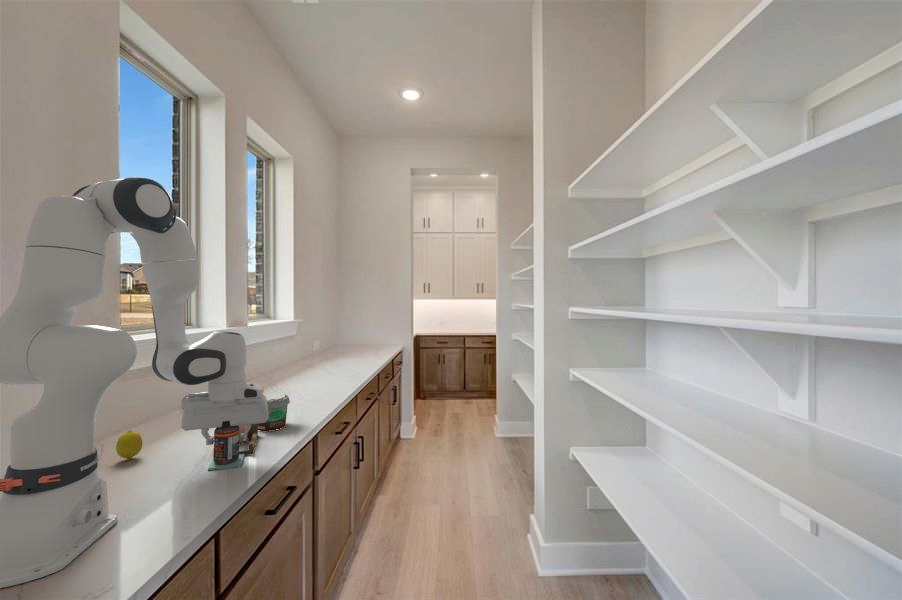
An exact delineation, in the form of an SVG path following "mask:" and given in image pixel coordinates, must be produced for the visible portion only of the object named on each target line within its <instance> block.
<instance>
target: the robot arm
mask: <svg viewBox="0 0 902 600" xmlns="http://www.w3.org/2000/svg"><path fill="white" fill-rule="evenodd" d="M114 233H129V234H130V236H131V237H132V238H133V239H134V240H135V243H136V245H137V246H138V247H139V254H140V261H141V262H140V263H141V266H142V271H143V275H144V279H145V283H146V287H147V290H148V293H149V298H150V302H151V310H152V317H153V322H154V323H153V325H154V331H155V338H156V340H155V341H156V342H155V343H156V345H155V350H154V353H153V356H152V360H151V368H152V370H153V372H154V374H155V375H156V376H157V377H158V378H160V379H161V380H164V381H167V382H174V383H177V384H181V385H187V386H195V385H200V384H204V383H207V382H208V383H207V385H208V386H207V387H208V388H207V391H205V392H204V391H203V392H197V393H195V392H194V393H193V392H192V393H189V394H188V395H185V396H183V398H182V399H181V404H180V405H181V409H182V411H183V412H182V419H181V429H183V430H184V431H186V432H187V431H196V430H200V431H201V432H200V433H201V435H202V437H204V439H205V441H206V442H205V443H206V444H205V445H206V446H210V445H213V446H214V435H212V436H211V435H210V434H209V430H210V429H216V428H218V427H222V421H230V424H231V425H230V426H238V425H245V429H246V428H247V429H246V430H245V432H244V433H241V434H240V441H246V439H247V433H248V431H249V430H250V428H251V424H258V423H265V422H266V421H267V420H268V417H269V412H268V403H267V401H268V399H267V397H266V396H265V394H264V391H265V388H264V386H263V385H261V384H258V383H253V382H247V377H246V376H247V375H246V372H245V368H246V365H247V347H246V341H245V337H244V336H243V334H241V333H238V332H233V331H226V330H214V331H212V332H211V333H210V334H209V335H207V336H206V337H204V338H202V339H201V340H199V341H196V342H194V343H192V344H190V342H189V341H188V338H187V335H186V327H185V317H184V307H185V303H186V302H187V300H188V298H189V297H190V296H192V294H193V293H195V291H196V290H197V289H198V287H199V285H200V266H199V261H198V255H197V252H196V248H195V243H194V241H193V240H194V239H193V238H192V235H191V232H190V230H189V228H188V226H187V224H186V222H185V221H184V220H183V219H181V218H180V217H178V216H177V210H176V208H175V204H174V202H173V199H172V197H171V196H170V193H169V192H168V190H167V189H166V188H165V187H164V186H163V185H162V184H160V183H159V182H157V180H154V179H151V178H146V177H143V176H142V177H139V176H138V177H137V176H129V177H125V178H120V179H119V178H118V179H107V180H104V181H99V182H97V183H96V182H95V183H94V184H90V185H86V186H83V187H81V188H79V189H78V190H77V191H75V192H74V193H73V194H72V195H55V196H53V195H52V196H50V197H47V198H44V199H43V200H41V201H40V202H39V204H38V205H37V208H36V210H35V212H34V214H33V217H32V219H31V222H30V226H29V228H28V232H27V236H26V237H27V238H26V242H25V249H24V254H23V262H22V269H21V274H20V278H19V284H18V286H17V290H16V293H15V295H14V296H13V299H12V300H11V302H10V304H9V305H8V307H7V308H6V309H5V311H4V312H3V313H2V314H1V316H0V384H5V385H11V386H12V385H43V392H42V395H41V397H40V399H39V401H38V403H37V404H36V405H35V406H32V407H31V408H29V409H27V410H26V411H24V412H22V413H21V414H20V415H18V416H17V417H16V418H15V419H14V420H13V422H12V424H11V426H10V449H9V450H10V451H9V452H10V455H9V457H10V458H9V459H10V463H9V465H8V466H7V468H6V471H5V474H4V476H3V478H1V479H0V492H2V494H1V495H0V589H2V588H7V587H12V586H17V585H21V584H24V583H28V582H31V581H35V580H36V579H40V578H43V577H46V576H49V575H51V574H53V573H57V572H59V571H61V570H62V569H64V568H65V567H66V566H68V565H69V564H70V563H71V562H72V561H73V560H75V559H77V557H78V556H79V555H80V554H81V553H83V552H84V551H85V550H86V549H88V548H89V547H90V546H91V545H93V543H95V542H96V541H97V540H98V539H99V538H100V537H101V536H102V535H104V534H105V533H106V532H107V531H108V530H109V529H111V528H112V527H113V526H114V525H116V524H117V523H118V516H117V514H112V513H110V512H109V499H108V497H109V496H108V487H107V481H106V479H104V478H103V477H102V476H100V475H99V473H98V471H97V469H98V463H99V454H98V449H97V448H95V443H96V441H95V439H96V438H95V437H96V423H97V414H98V411H99V405H100V403H101V401H102V399H103V397H104V395H106V392H107V391H108V390H109V389H110V387H111V386H112V385H113V384H114V383H115V382H116V381H118V380H120V379H121V378H122V377H123V376H125V375H126V374H127V373H128V372H129V371H130V370H131V368H132V367H133V365H134V364H135V361H136V360H137V359H136V358H137V354H138V350H137V344H136V341H135V340H134V338H133V337H132V336H131V335H130V333H128V331H125V330H124V329H118V328H114V327H110V326H103V325H97V324H95V325H93V324H90V325H88V324H86V325H85V324H83V325H81V324H80V325H79V324H78V325H76V324H75V325H74V324H71V322H72V319H73V318H74V315H76V313H77V312H78V311H80V310H81V308H83V307H84V306H86V305H88V304H91V303H92V302H94V301H96V300H97V299H98V298H99V297H100V296H101V294H102V290H103V284H104V283H103V282H104V272H105V264H106V253H107V242H108V238H109V237H110V235H111V234H114ZM70 324H71V325H70Z"/></svg>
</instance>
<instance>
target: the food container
mask: <svg viewBox="0 0 902 600" xmlns="http://www.w3.org/2000/svg"><path fill="white" fill-rule="evenodd" d="M267 403H268V412H269V417H268V420H267V421H266V422H265V423H258V430H260V431H259V432H263V431H266V432H270V431H269V430H275V431H277V430H276V429H279V430H281V429H280V428H282V427H284V426H285V427H286V423H287V414H288V405H289V404H290V403H291V400H290V397H289V396H288V395H287V394H284V397H281V398H271V399H267ZM285 427H284V428H285ZM282 429H283V428H282Z"/></svg>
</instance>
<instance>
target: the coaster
mask: <svg viewBox="0 0 902 600" xmlns="http://www.w3.org/2000/svg"><path fill="white" fill-rule="evenodd" d="M244 458H245V455H244V454H239V458H238V459H237V460H236V461H234V462H232V463H229V464H223V465H221V464H216V463H214V458H213V457H212V460H211V462H210V464H209V466H208V468H207V471H208V472H210V471H209V470H211V471H216V470H215V469H219V470H225V469H224V468H226V469H231V468H230V467H233V468H239V466H241V467H242V464H243V462H244ZM242 461H243V462H242Z"/></svg>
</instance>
